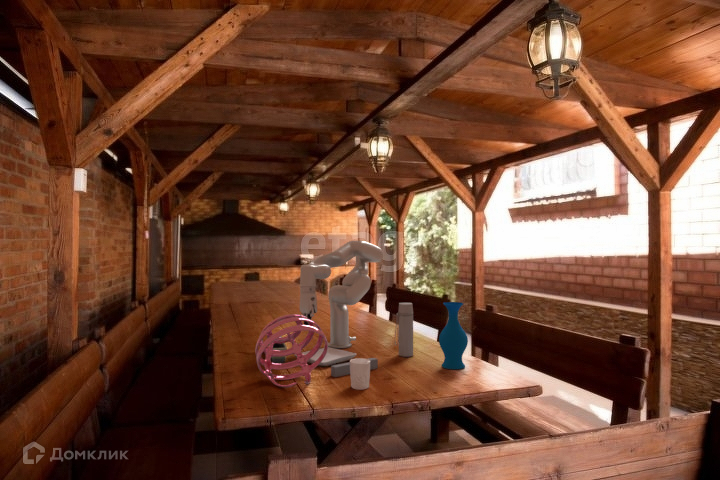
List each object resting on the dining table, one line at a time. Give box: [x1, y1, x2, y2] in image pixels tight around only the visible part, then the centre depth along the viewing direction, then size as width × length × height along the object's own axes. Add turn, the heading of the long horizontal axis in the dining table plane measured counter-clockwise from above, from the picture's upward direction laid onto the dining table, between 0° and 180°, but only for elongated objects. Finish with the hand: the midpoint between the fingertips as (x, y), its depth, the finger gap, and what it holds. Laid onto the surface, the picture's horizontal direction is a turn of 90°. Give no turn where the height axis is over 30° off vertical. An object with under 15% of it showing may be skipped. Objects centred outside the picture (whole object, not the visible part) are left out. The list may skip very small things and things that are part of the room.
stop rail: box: [330, 357, 379, 378], centre depth 199 cm, size 22×3×4 cm, turn 126°
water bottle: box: [394, 302, 414, 358], centre depth 226 cm, size 9×8×25 cm
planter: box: [266, 336, 288, 364], centre depth 225 cm, size 28×7×7 cm, turn 15°
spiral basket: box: [254, 313, 329, 389], centre depth 183 cm, size 28×28×27 cm
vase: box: [438, 301, 469, 371], centre depth 206 cm, size 12×13×28 cm
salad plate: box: [294, 347, 357, 367], centre depth 218 cm, size 21×21×3 cm
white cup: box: [349, 357, 371, 391], centre depth 179 cm, size 8×8×10 cm
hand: (307, 327), depth 230 cm, fingers closed
